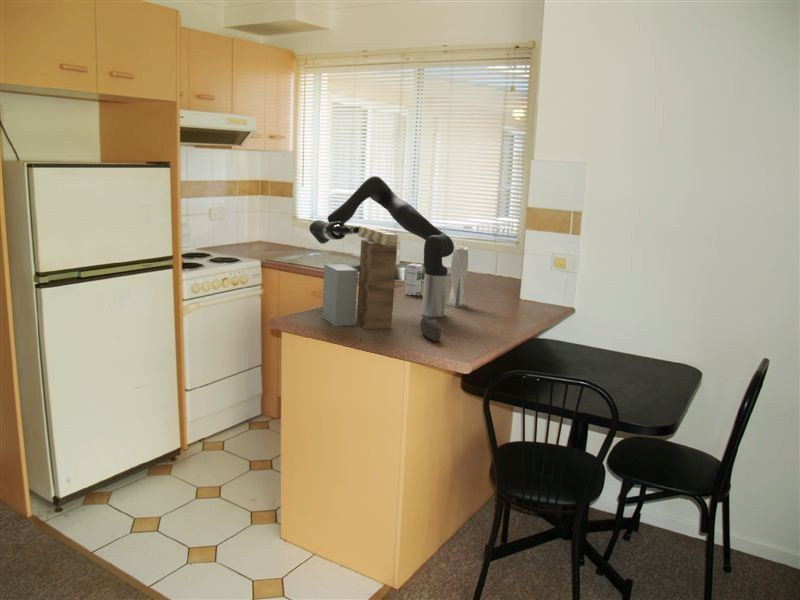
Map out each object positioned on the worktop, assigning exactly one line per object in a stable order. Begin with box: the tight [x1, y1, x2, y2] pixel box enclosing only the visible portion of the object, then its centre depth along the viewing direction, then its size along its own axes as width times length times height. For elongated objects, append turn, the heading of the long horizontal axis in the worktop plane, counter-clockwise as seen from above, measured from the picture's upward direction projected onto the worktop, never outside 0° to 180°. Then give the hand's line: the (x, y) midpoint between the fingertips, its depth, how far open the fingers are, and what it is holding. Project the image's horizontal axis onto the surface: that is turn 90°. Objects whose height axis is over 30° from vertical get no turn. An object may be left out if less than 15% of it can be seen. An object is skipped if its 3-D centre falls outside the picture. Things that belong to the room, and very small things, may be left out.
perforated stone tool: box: [419, 315, 442, 342], centre depth 241 cm, size 15×5×7 cm, turn 14°
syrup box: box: [404, 263, 424, 297], centre depth 317 cm, size 6×6×14 cm
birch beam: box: [357, 225, 399, 247], centre depth 249 cm, size 26×4×4 cm, turn 26°
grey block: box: [321, 263, 359, 327], centre depth 255 cm, size 14×8×21 cm, turn 26°
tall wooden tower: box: [356, 239, 398, 330], centre depth 251 cm, size 10×10×32 cm
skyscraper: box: [445, 241, 469, 309], centre depth 299 cm, size 8×8×28 cm
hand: (349, 229), depth 269 cm, fingers open, 8 cm apart
